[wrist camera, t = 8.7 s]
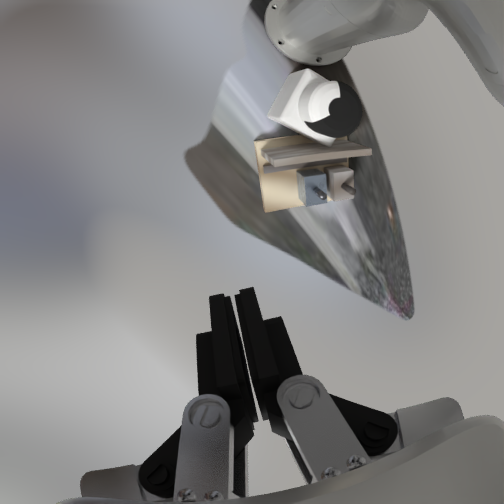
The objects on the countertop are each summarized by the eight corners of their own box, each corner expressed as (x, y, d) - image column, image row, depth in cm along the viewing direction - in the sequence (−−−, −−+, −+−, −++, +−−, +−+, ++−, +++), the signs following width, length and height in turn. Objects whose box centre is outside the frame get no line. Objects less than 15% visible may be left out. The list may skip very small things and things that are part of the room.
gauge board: (253, 140, 35) (267, 150, 28) (343, 130, 36) (374, 139, 29) (263, 209, 40) (278, 235, 33) (345, 194, 41) (374, 215, 34)
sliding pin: (296, 171, 37) (311, 182, 32) (316, 168, 37) (334, 179, 32) (298, 198, 39) (313, 213, 34) (318, 195, 39) (335, 209, 34)
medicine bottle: (332, 98, 34) (380, 101, 23) (309, 140, 36) (350, 156, 26) (289, 72, 31) (325, 61, 21) (265, 116, 34) (292, 122, 24)
